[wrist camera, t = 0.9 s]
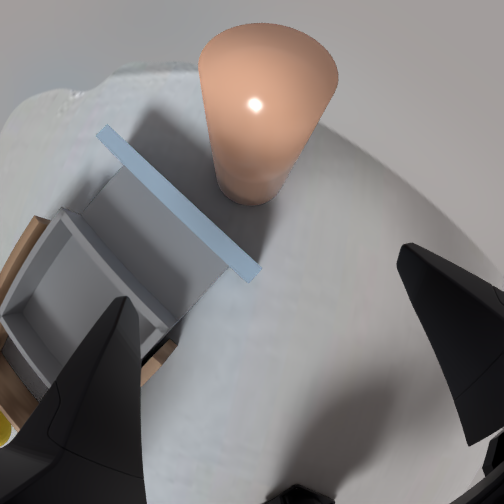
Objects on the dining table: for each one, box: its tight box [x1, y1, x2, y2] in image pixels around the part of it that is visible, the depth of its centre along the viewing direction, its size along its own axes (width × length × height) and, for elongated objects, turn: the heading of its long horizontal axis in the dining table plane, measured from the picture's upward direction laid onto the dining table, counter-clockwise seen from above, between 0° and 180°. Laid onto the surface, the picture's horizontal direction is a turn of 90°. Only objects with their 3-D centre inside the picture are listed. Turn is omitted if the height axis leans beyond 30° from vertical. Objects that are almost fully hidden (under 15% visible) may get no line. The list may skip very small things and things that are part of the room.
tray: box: [0, 124, 262, 389], centre depth 18 cm, size 15×18×4 cm
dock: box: [0, 215, 177, 432], centre depth 17 cm, size 14×18×5 cm
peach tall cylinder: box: [198, 23, 338, 206], centre depth 15 cm, size 6×6×13 cm
